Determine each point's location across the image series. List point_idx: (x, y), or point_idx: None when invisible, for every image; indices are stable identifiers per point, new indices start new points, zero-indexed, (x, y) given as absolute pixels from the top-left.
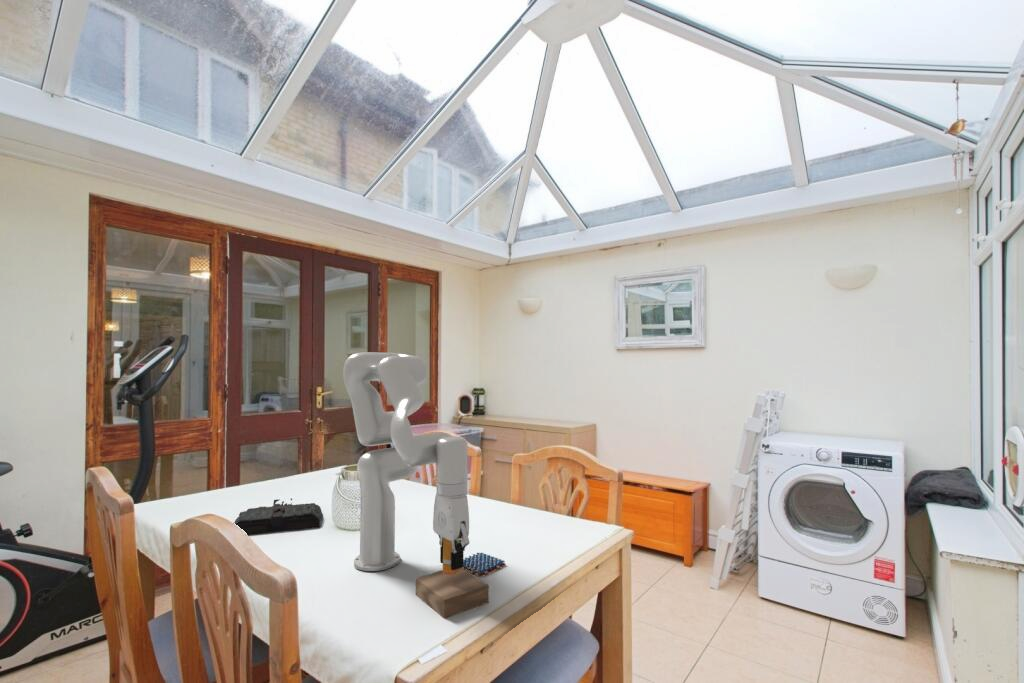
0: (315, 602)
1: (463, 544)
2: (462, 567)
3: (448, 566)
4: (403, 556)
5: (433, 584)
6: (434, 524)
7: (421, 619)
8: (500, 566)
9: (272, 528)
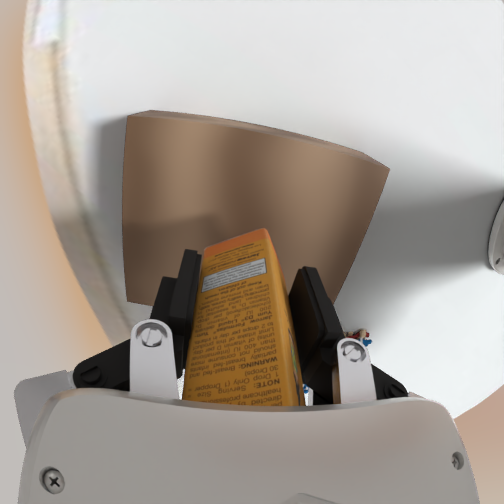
0: (496, 7)
1: (38, 384)
2: (345, 336)
3: (230, 259)
4: (488, 278)
5: (284, 173)
6: (446, 456)
7: (205, 51)
8: None
9: None
